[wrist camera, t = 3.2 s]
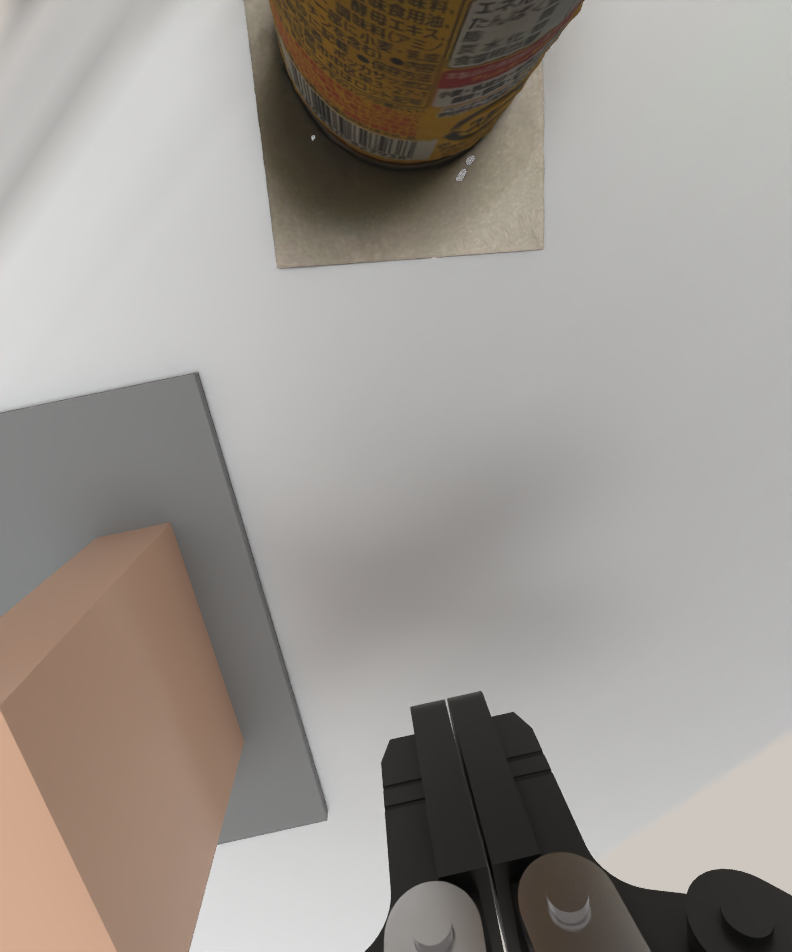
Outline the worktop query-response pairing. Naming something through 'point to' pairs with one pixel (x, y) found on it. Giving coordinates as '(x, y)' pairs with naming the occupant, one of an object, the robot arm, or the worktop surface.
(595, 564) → the worktop surface
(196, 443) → the mat
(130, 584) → the tile
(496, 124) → the condiment
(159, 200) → the worktop surface
